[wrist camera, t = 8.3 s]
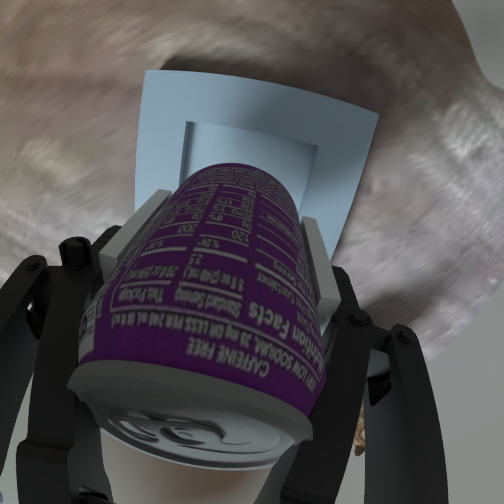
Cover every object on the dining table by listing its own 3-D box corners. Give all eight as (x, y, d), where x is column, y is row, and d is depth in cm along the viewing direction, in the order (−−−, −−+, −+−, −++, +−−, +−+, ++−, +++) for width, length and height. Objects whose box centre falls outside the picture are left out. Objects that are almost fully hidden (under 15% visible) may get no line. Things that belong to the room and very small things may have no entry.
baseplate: (157, 71, 17) (145, 69, 15) (368, 111, 17) (379, 114, 16) (145, 250, 25) (136, 263, 23) (312, 282, 26) (315, 297, 24)
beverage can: (189, 276, 18) (129, 457, 8) (159, 170, 14) (0, 337, 4) (300, 268, 17) (321, 471, 7) (292, 152, 13) (362, 355, 3)
